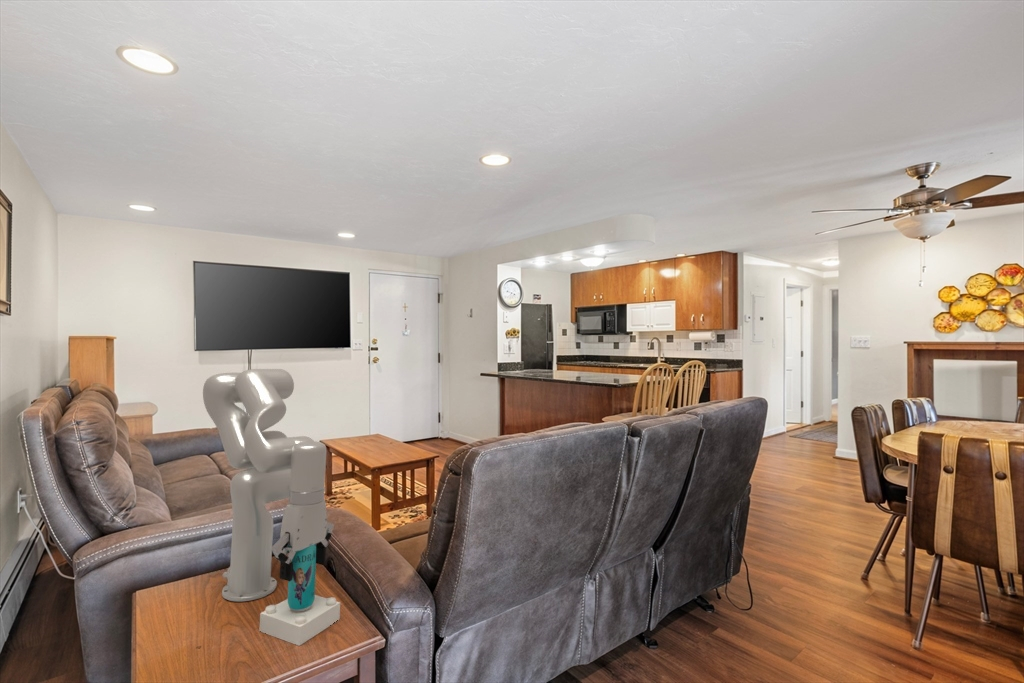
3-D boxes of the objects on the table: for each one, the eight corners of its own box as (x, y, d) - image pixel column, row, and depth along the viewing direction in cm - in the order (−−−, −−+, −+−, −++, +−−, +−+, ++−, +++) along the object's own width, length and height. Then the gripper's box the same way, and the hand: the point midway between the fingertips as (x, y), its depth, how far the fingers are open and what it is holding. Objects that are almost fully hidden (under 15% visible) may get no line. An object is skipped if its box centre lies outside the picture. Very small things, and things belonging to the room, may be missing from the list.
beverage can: (287, 615, 112) (289, 547, 112) (287, 603, 117) (289, 538, 118) (315, 610, 114) (317, 544, 115) (313, 599, 120) (315, 535, 120)
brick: (259, 631, 113) (260, 608, 113) (301, 607, 124) (302, 586, 124) (299, 645, 108) (300, 622, 108) (339, 619, 119) (340, 598, 119)
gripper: (322, 485, 126) (319, 554, 125) (263, 503, 110) (259, 582, 110) (346, 490, 123) (342, 561, 122) (288, 509, 107) (284, 590, 107)
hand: (303, 571), depth 116 cm, fingers open, 9 cm apart
